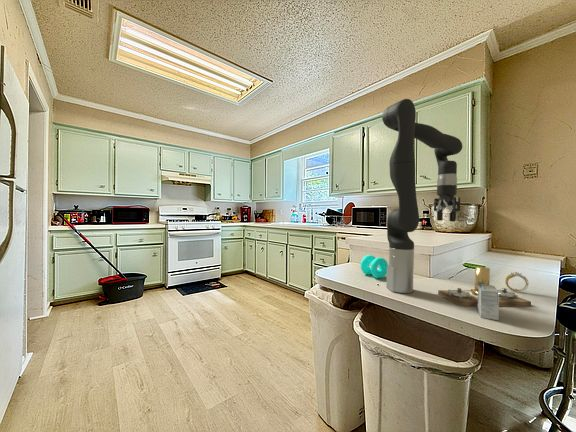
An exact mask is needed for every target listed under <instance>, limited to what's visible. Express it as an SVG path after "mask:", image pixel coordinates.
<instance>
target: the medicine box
mask: <svg viewBox="0 0 576 432" xmlns="http://www.w3.org/2000/svg"><path fill="white" fill-rule="evenodd" d="M497 290H498V289H497V287H495V285H490V284H489V285H485V284H478V306H477V311H478V313H479V316H480V318H482V319H488V320H492V321H499V319H500V313H499V309H500V306H499V292H498V291H497Z"/></svg>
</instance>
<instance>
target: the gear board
mask: <svg viewBox="0 0 576 432" xmlns="http://www.w3.org/2000/svg"><path fill="white" fill-rule="evenodd" d="M448 290H449V289H448ZM448 290H447V289H446V290H445V289H443V290H441V289H440V290H438V292H437V295H439V296H441V297H442V298H444V299H446V300H449V302H452V303H454V304H456V306H460V307H478V296H477V295H472V293H471V289H470V290H467V289H466V290H465V289H464V290H463V289H461V291H464V292H469V293H470V295H471V299H468V298H462V299H459V298H458V297H454V296H449V293H448ZM531 306H532V302H531V301H530V300H528V299H524V298H522V297H520V296H518V297H517V299H515V298H509V299H506V298H503V297H499V307H531Z"/></svg>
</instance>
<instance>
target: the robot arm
mask: <svg viewBox="0 0 576 432" xmlns="http://www.w3.org/2000/svg"><path fill="white" fill-rule="evenodd" d="M416 115H417V112H416V107H415V103H414V102H413V101H412V100H411V99H409V98H403V99H402V100H399V101H397V102H395V103H393V104H392V105H390V106H387V107H386V108H385V109H384V110H383V111H382V115H381V119H382V122H383V124H384V126H386V127H387V128H388V129H391V130H393V131H396V132H398V135H397V140H396V143H395V145H394V147H393V150H392V152H391V154H390V158H389V162H388V163H389V177H390V180H391V183H392V185H393V187H394V189H395V191H396V193H397V197H398V208H394V209H392V210H391V211H390V212H389V213H388V215H387V218H386V230H387V231H386V233H387V236H386V237H387V242H388V245H389V247H388V249H389V251H388V265H387V274H386V283H385V284H386V289H388V290H389V291H390V292H391V293H400V294H412V293H413V292H414V274H415V273H414V266H415V263H414V261H415V243H414V242H415V241H413V240H412V239H411V238H410V237H409V233H413V232H414V231H416V230H417V229H418V227H419V224H420V214H419V213H420V212H419V207H418V206H419V205H418V200H417V185H416V163H415V162H416V159H415V139H416V140H418V141H419V142H421V143H423V144H424V145H426V146H427V147H429V148H431V149H434V150H433V151H434V156H435V160H436V162H437V163H436V164H437V168H438V169H437V181H436V184H437V185H436V196H439V197H437V198H434V200H433V202H434V203H433V211H434V212H436V220H437V221H438V222H441V221H443V219H444V217H443V214H444V211H445V210H446V209H448V210H449V222H456V219H457V213H458V212H460V211H461V197H460V196H456V195H457V194H458V177H457V173H458V171H457V170H458V169H457V168H458V163H457V161H455V160H449V159H448V156H449V157H451V156H454V155H457V154H460V153H461V151H462V150H463V142H462V141H461V139H460V138H458V137H456V136H454V135H450V134H447V133H444V132H442V131H440V130H439V129H438V128H436V127H434V126H432V125H428V124H424V123H419V122H417V121H416V119H417V118H416Z"/></svg>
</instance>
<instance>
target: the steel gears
mask: <svg viewBox="0 0 576 432" xmlns="http://www.w3.org/2000/svg"><path fill="white" fill-rule="evenodd" d="M461 290H462V288H460V287H458V288H457V289H448V293H449V296H454V297H458V298H459V299H462V298H468V299H471V295H470V293H469V292H464V291H461ZM497 291H498V292H499V297H503V298H506V299H509V298H515V299H517V297H519V295H518V294H516V293H515V291H507V288H505V287H504V288H503V287H502V288H501V289H497Z"/></svg>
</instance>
